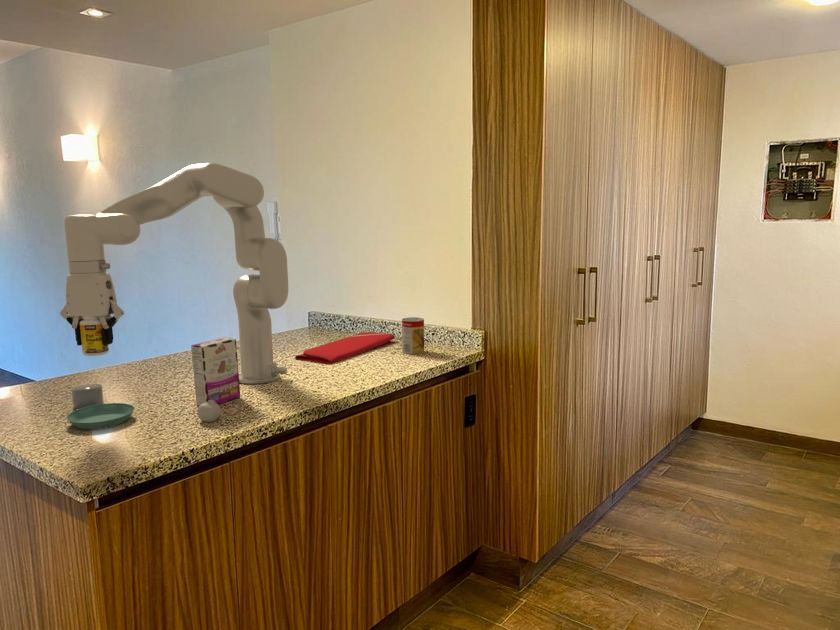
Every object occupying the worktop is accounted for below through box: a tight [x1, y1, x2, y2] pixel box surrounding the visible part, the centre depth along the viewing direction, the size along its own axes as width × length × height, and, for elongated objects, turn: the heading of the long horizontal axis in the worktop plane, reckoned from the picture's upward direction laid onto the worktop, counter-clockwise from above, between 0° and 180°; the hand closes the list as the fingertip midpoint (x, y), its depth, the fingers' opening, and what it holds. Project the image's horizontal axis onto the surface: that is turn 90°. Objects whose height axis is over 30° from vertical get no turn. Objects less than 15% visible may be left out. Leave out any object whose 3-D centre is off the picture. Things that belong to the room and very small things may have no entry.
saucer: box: [66, 402, 136, 430], centre depth 149 cm, size 15×15×3 cm
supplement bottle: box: [80, 316, 109, 357], centre depth 146 cm, size 6×6×10 cm
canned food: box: [401, 316, 425, 356], centre depth 220 cm, size 8×8×12 cm
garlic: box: [196, 400, 222, 423], centre depth 149 cm, size 6×5×5 cm
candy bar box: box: [191, 337, 241, 407], centre depth 163 cm, size 11×5×16 cm, turn 148°
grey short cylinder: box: [71, 383, 105, 410], centre depth 162 cm, size 7×7×5 cm
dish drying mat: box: [294, 331, 395, 365], centre depth 225 cm, size 16×41×4 cm, turn 150°
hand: (95, 343), depth 147 cm, fingers closed on supplement bottle, 5 cm apart
